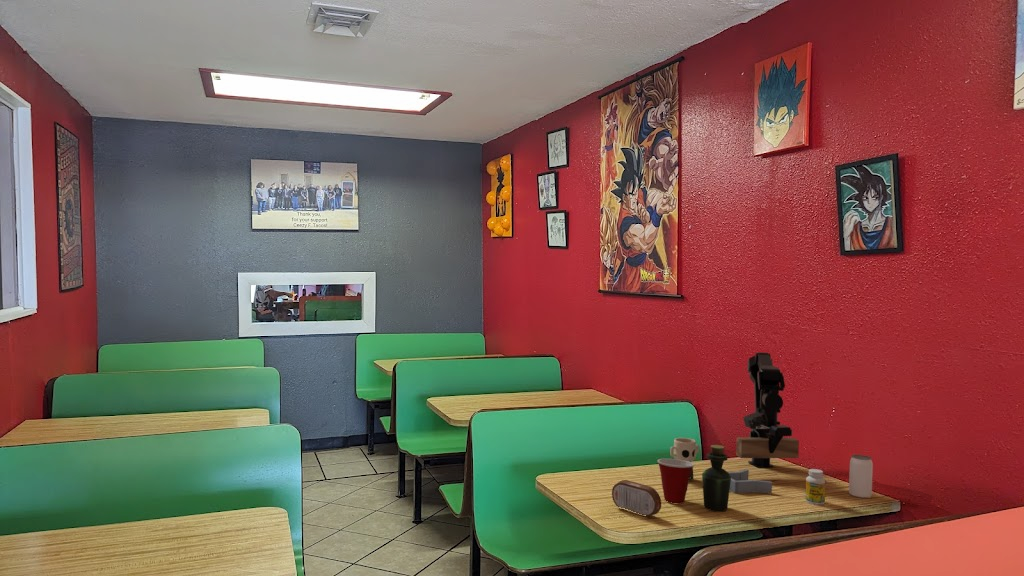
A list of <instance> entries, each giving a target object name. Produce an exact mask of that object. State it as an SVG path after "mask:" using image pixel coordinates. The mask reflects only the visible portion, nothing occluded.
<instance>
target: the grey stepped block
mask: <svg viewBox="0 0 1024 576" xmlns="http://www.w3.org/2000/svg"><path fill="white" fill-rule="evenodd" d="M727 472H728V473H729V474H730V476H731V483H730V491H729V492H732V494H742V493H743V494H744V493H745V494H746V493H759V492H760V493H759V494H761V493H762V494H768V493H771V494H772V491H773V482H772V481H771V480H770V481H769V480H759V479H749V469H747V468H745V469H741V470H738V471H727Z"/></svg>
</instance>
